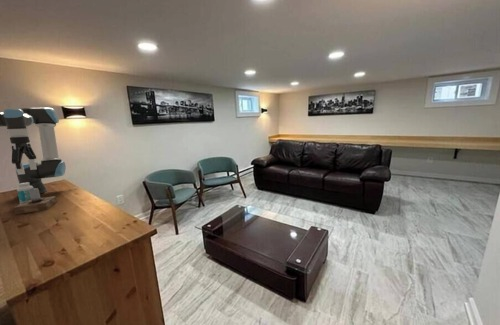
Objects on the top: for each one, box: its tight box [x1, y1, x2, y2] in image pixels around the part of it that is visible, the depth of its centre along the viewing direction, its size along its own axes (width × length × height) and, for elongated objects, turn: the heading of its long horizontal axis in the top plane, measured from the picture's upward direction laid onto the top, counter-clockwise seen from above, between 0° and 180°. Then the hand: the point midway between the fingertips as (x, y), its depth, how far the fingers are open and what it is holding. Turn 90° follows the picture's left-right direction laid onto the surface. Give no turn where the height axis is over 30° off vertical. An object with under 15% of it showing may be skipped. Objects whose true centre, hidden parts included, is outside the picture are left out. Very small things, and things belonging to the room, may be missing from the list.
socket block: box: [13, 195, 58, 215], centre depth 128 cm, size 14×14×4 cm
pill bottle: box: [16, 182, 33, 204], centre depth 135 cm, size 8×7×14 cm
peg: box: [29, 188, 42, 203], centre depth 127 cm, size 4×4×12 cm
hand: (27, 171), depth 124 cm, fingers open, 13 cm apart
